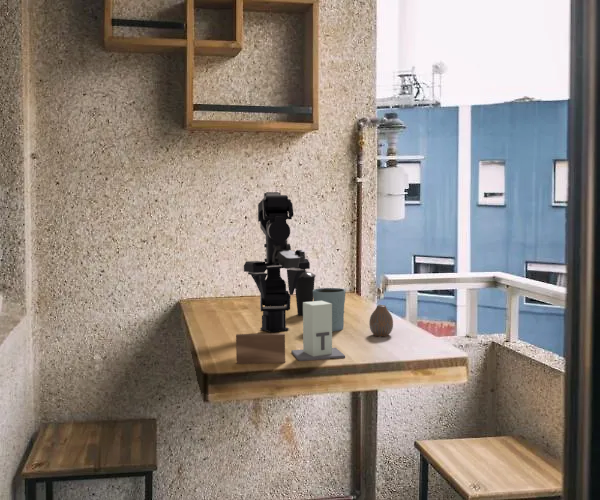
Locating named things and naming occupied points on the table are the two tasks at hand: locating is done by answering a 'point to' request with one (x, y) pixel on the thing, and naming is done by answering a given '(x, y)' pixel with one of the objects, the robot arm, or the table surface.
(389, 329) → the vase
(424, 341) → the table surface
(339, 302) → the blue-grey pot
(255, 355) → the walnut screen
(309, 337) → the pale green block
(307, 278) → the drinking cup
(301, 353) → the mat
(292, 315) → the table surface
